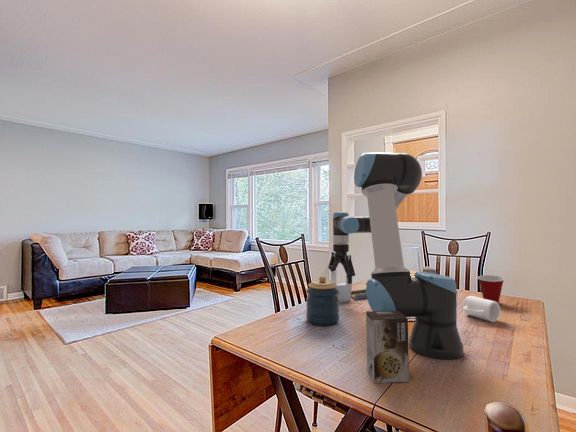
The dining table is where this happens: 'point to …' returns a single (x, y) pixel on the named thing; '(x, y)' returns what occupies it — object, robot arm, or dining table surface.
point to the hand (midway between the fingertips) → (340, 287)
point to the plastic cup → (491, 287)
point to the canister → (322, 302)
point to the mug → (481, 308)
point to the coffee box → (387, 346)
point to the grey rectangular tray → (358, 294)
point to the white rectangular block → (343, 293)
